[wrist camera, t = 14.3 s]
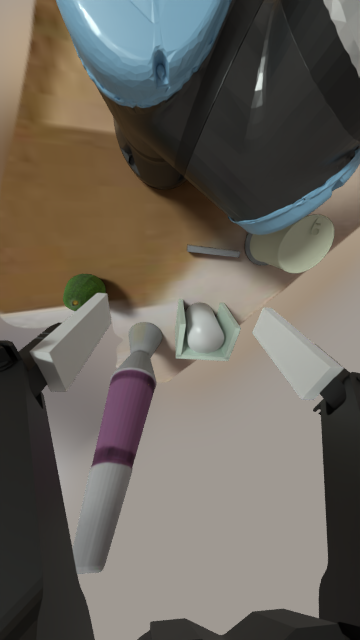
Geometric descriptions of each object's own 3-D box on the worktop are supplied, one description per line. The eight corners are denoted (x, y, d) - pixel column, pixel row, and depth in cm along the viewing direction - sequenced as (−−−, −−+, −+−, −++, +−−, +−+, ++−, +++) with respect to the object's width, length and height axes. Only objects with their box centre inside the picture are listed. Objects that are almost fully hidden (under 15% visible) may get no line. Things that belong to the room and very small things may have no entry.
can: (297, 221, 34) (351, 218, 24) (278, 264, 39) (316, 277, 28) (258, 214, 33) (296, 209, 23) (244, 259, 38) (270, 271, 28)
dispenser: (184, 244, 36) (189, 252, 25) (239, 250, 37) (266, 261, 26) (175, 328, 49) (175, 358, 38) (216, 331, 50) (228, 361, 39)
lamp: (126, 344, 51) (34, 576, 17) (131, 318, 46) (12, 577, 12) (158, 351, 53) (130, 570, 19) (165, 326, 48) (147, 568, 14)
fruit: (110, 301, 43) (91, 324, 33) (80, 294, 42) (50, 316, 31) (112, 274, 39) (90, 290, 29) (78, 265, 38) (43, 280, 28)
